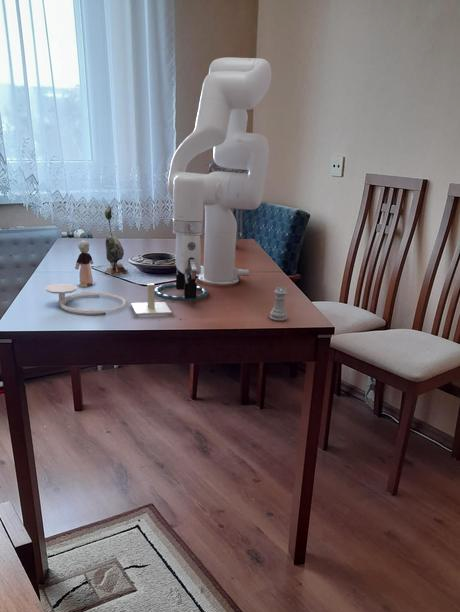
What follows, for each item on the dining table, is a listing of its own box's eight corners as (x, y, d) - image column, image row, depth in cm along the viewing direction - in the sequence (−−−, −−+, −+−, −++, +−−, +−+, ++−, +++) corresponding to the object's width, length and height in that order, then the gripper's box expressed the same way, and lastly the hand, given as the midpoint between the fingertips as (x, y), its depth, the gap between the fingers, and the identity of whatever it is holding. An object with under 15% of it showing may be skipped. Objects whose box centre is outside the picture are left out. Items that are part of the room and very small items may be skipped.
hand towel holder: (121, 299, 135) (35, 296, 134) (122, 317, 137) (37, 313, 136) (129, 281, 150) (52, 278, 149) (130, 297, 152) (54, 294, 151)
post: (165, 306, 147) (165, 279, 143) (172, 316, 139) (172, 288, 136) (131, 307, 144) (130, 280, 141) (136, 318, 136) (135, 289, 133)
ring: (200, 287, 165) (200, 282, 164) (214, 302, 152) (214, 296, 151) (149, 289, 161) (149, 283, 160) (159, 304, 148) (159, 298, 147)
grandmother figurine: (87, 288, 157) (84, 243, 152) (74, 287, 158) (71, 241, 152) (98, 282, 164) (95, 238, 158) (86, 281, 165) (83, 237, 159)
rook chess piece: (268, 316, 144) (270, 285, 140) (285, 316, 144) (288, 286, 140) (270, 321, 140) (273, 290, 136) (288, 322, 140) (291, 290, 136)
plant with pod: (99, 277, 169) (95, 208, 160) (108, 269, 179) (104, 204, 170) (125, 279, 169) (123, 210, 160) (132, 270, 179) (131, 205, 170)
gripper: (210, 233, 135) (207, 301, 143) (193, 223, 150) (191, 285, 157) (180, 232, 133) (179, 302, 140) (166, 222, 148) (165, 286, 155)
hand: (185, 293), depth 149 cm, fingers open, 9 cm apart
